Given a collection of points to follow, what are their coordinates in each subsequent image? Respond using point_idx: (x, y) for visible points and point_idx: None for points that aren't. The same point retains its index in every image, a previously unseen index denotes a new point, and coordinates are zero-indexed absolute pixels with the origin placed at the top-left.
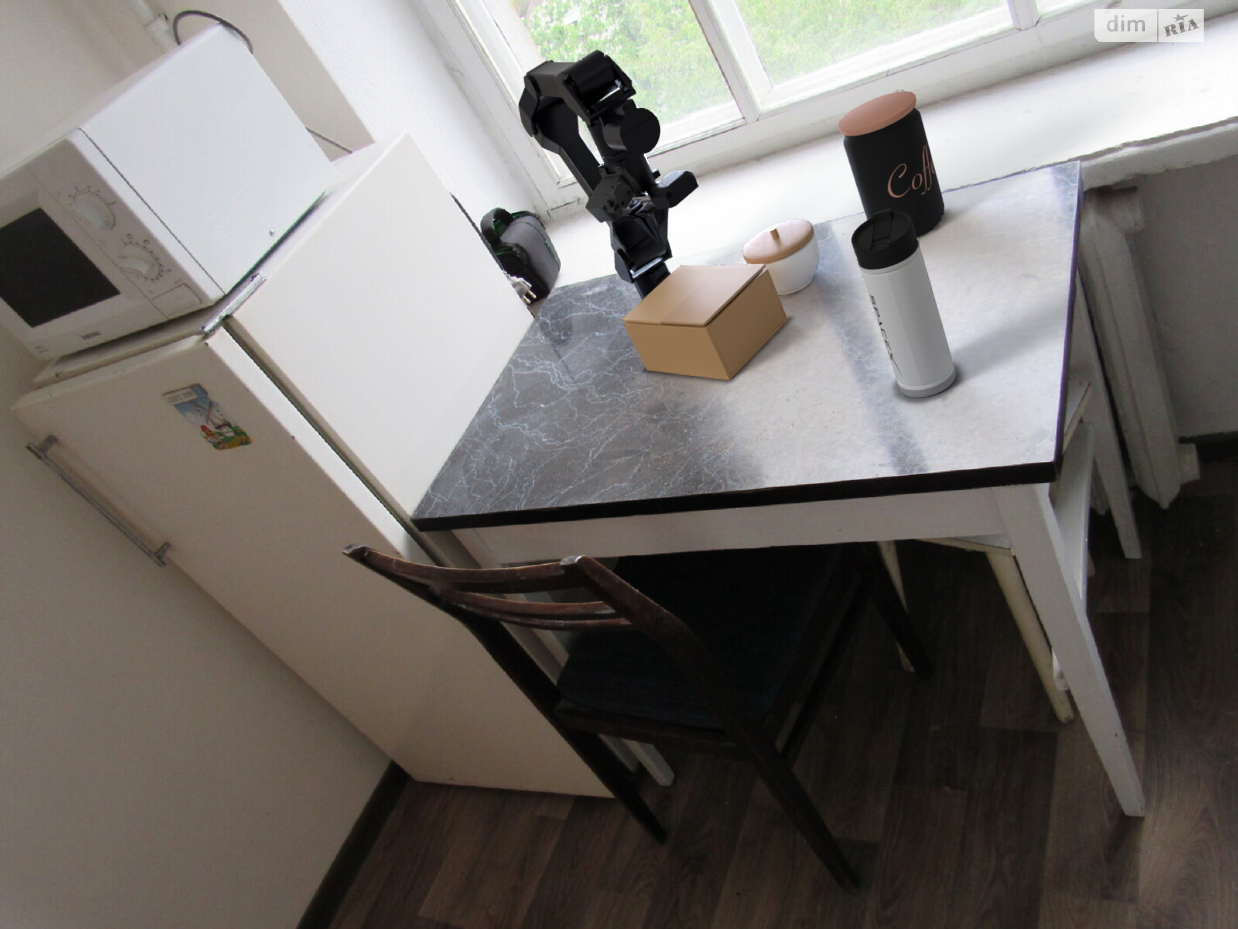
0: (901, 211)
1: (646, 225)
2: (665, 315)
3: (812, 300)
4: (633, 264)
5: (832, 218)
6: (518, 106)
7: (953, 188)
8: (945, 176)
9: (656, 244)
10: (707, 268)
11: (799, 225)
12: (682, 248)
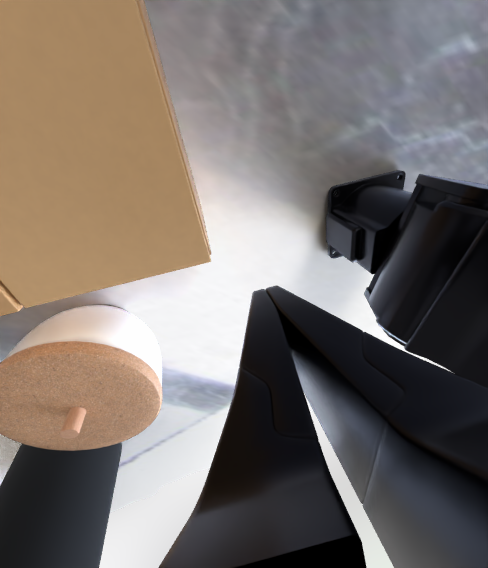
0: (4, 481)
1: (336, 368)
2: None
3: (6, 316)
4: (434, 207)
5: (213, 417)
6: None
7: None
8: (141, 479)
9: (389, 298)
10: (57, 281)
11: (72, 441)
12: None
